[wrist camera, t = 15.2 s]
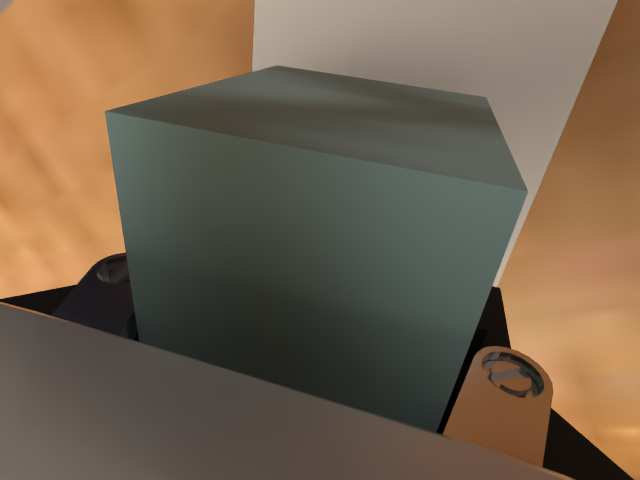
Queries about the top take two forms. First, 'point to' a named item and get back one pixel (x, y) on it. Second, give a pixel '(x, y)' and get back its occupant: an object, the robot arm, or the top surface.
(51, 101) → the top surface
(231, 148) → the block
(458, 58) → the board
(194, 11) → the top surface
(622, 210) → the top surface
